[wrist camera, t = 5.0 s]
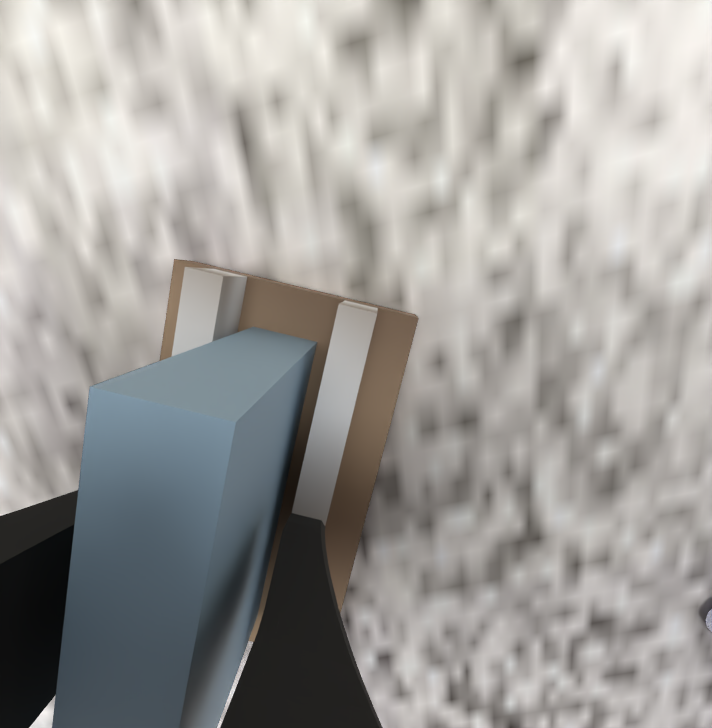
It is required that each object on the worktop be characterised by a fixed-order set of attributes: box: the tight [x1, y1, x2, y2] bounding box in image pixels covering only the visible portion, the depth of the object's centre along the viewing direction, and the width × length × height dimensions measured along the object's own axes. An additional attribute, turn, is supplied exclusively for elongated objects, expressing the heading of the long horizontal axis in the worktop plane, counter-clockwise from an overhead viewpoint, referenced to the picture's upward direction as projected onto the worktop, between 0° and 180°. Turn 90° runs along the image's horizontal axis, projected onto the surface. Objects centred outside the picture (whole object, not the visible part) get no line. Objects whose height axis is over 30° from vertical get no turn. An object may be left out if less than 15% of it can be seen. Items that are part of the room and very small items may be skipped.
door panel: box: [52, 327, 317, 728], centre depth 8 cm, size 8×2×6 cm, turn 167°
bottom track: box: [160, 259, 418, 642], centre depth 11 cm, size 10×6×3 cm, turn 167°
